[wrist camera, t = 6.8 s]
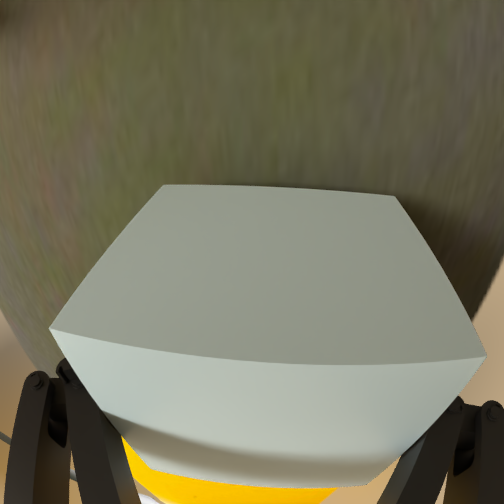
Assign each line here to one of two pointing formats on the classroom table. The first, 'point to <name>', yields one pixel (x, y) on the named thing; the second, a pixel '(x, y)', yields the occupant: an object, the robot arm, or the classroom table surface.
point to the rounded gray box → (269, 335)
